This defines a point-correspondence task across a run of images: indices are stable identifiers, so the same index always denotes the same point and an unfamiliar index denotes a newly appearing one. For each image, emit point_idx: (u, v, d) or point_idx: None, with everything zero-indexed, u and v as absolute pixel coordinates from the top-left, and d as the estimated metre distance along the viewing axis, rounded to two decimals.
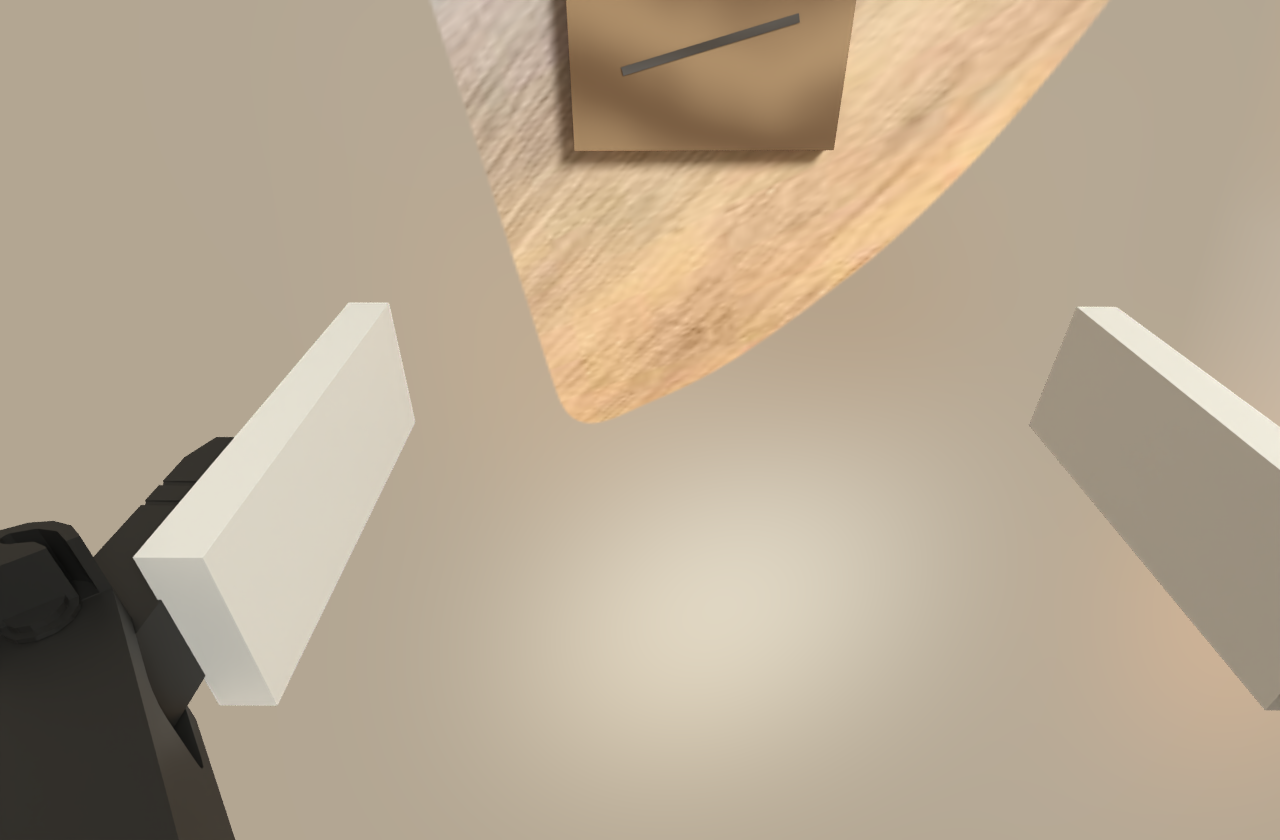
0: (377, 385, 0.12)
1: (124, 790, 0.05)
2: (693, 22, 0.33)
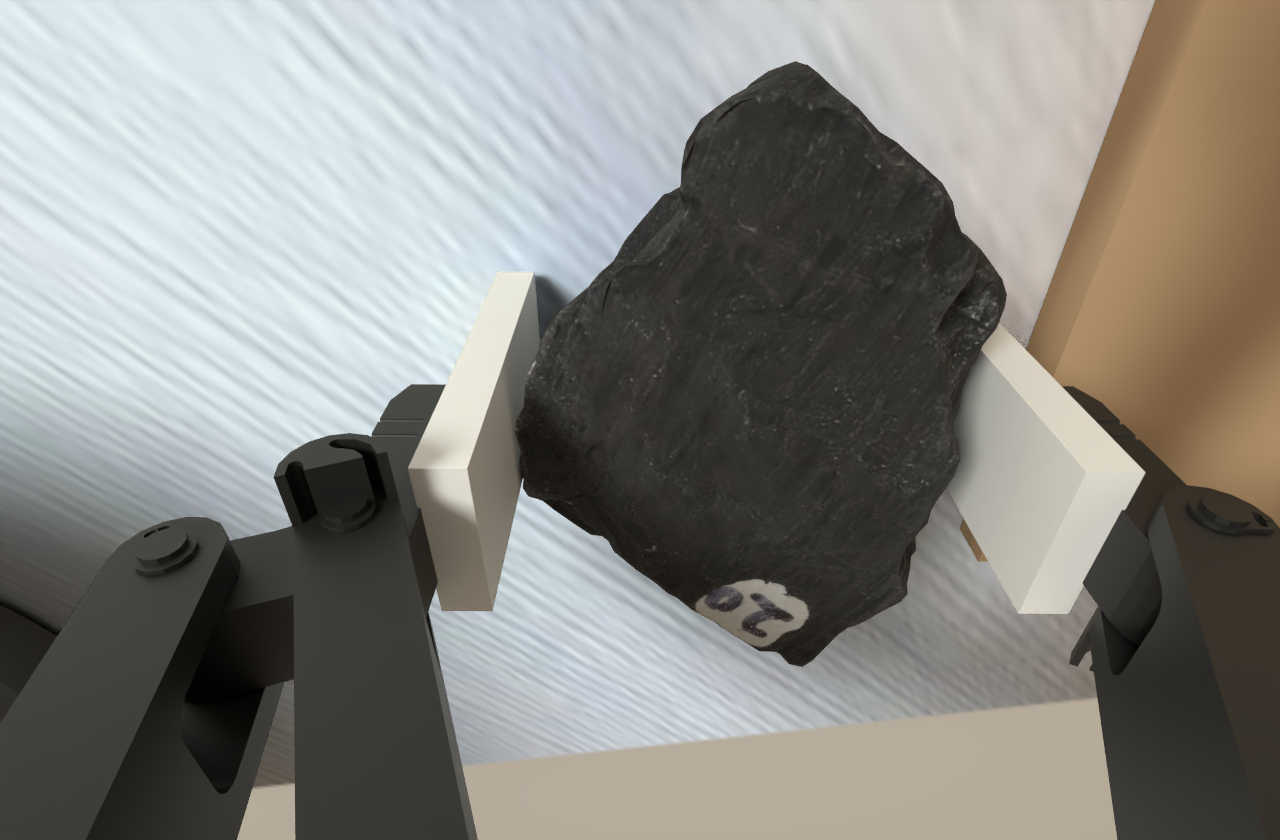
0: (529, 345, 0.13)
1: (405, 674, 0.06)
2: None
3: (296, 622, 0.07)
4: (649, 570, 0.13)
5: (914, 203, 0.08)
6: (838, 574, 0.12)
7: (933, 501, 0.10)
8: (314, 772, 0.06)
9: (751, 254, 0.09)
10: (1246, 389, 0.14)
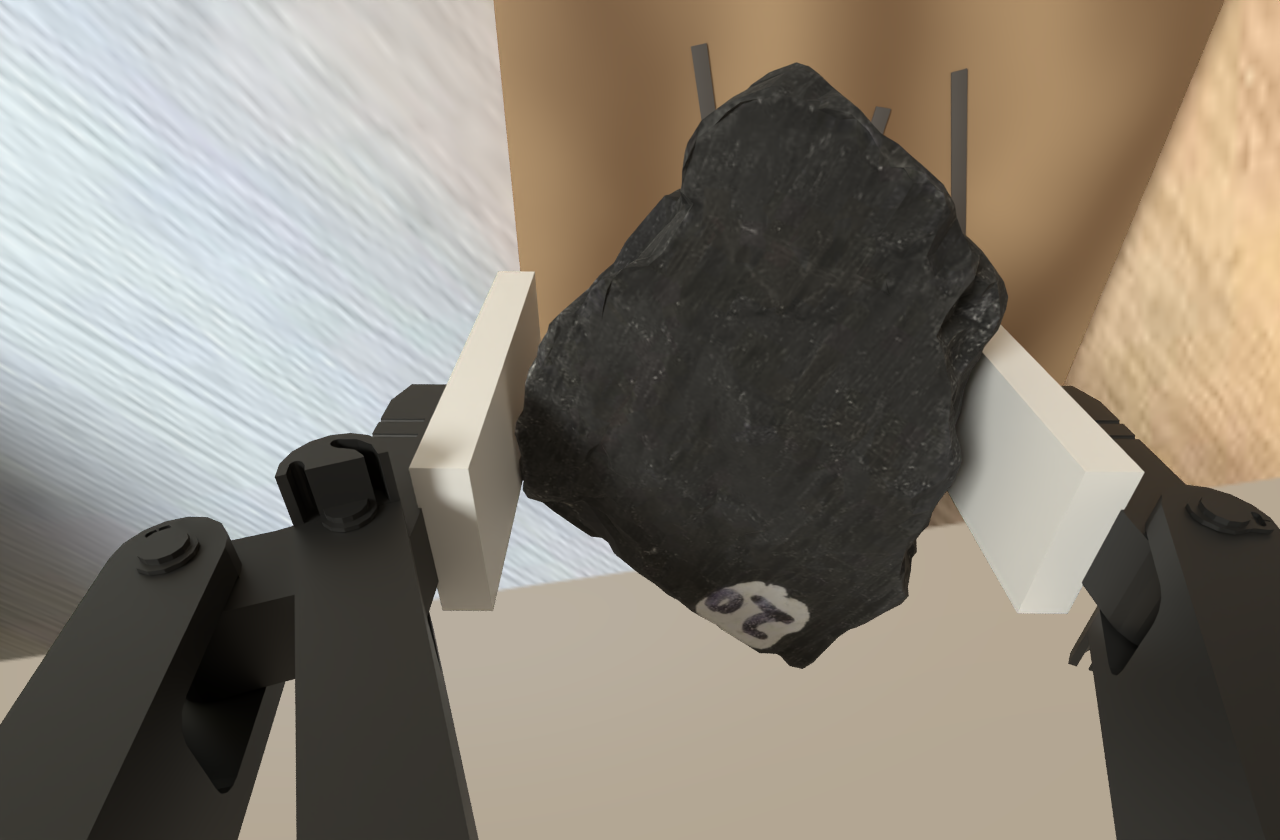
0: (530, 345, 0.13)
1: (405, 673, 0.06)
2: None
3: (297, 622, 0.07)
4: (649, 572, 0.13)
5: (915, 204, 0.08)
6: (838, 576, 0.12)
7: (934, 503, 0.10)
8: (315, 772, 0.06)
9: (750, 256, 0.09)
10: None
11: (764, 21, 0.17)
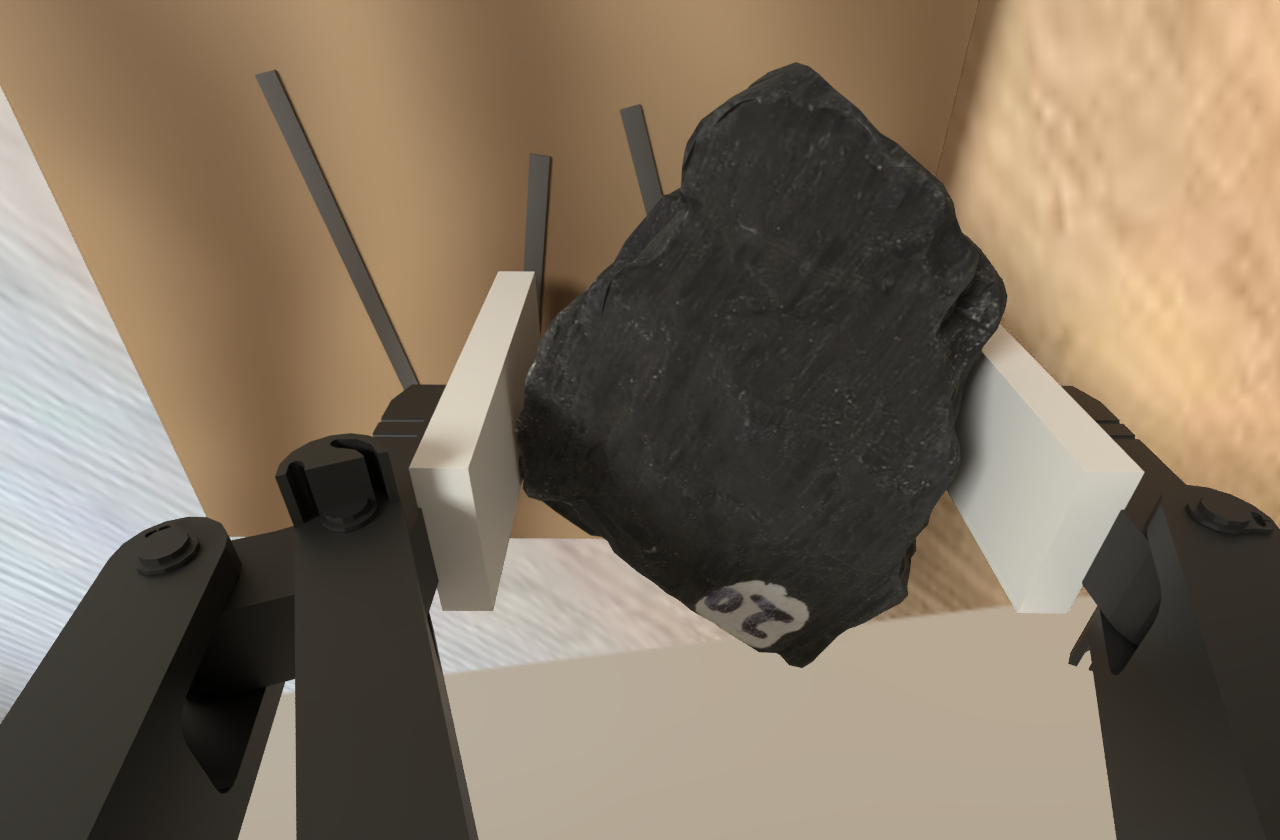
0: (530, 344, 0.13)
1: (406, 673, 0.06)
2: None
3: (298, 622, 0.07)
4: (649, 571, 0.13)
5: (914, 204, 0.08)
6: (838, 575, 0.12)
7: (933, 502, 0.10)
8: (315, 772, 0.06)
9: (750, 256, 0.09)
10: (316, 381, 0.16)
11: (346, 40, 0.12)
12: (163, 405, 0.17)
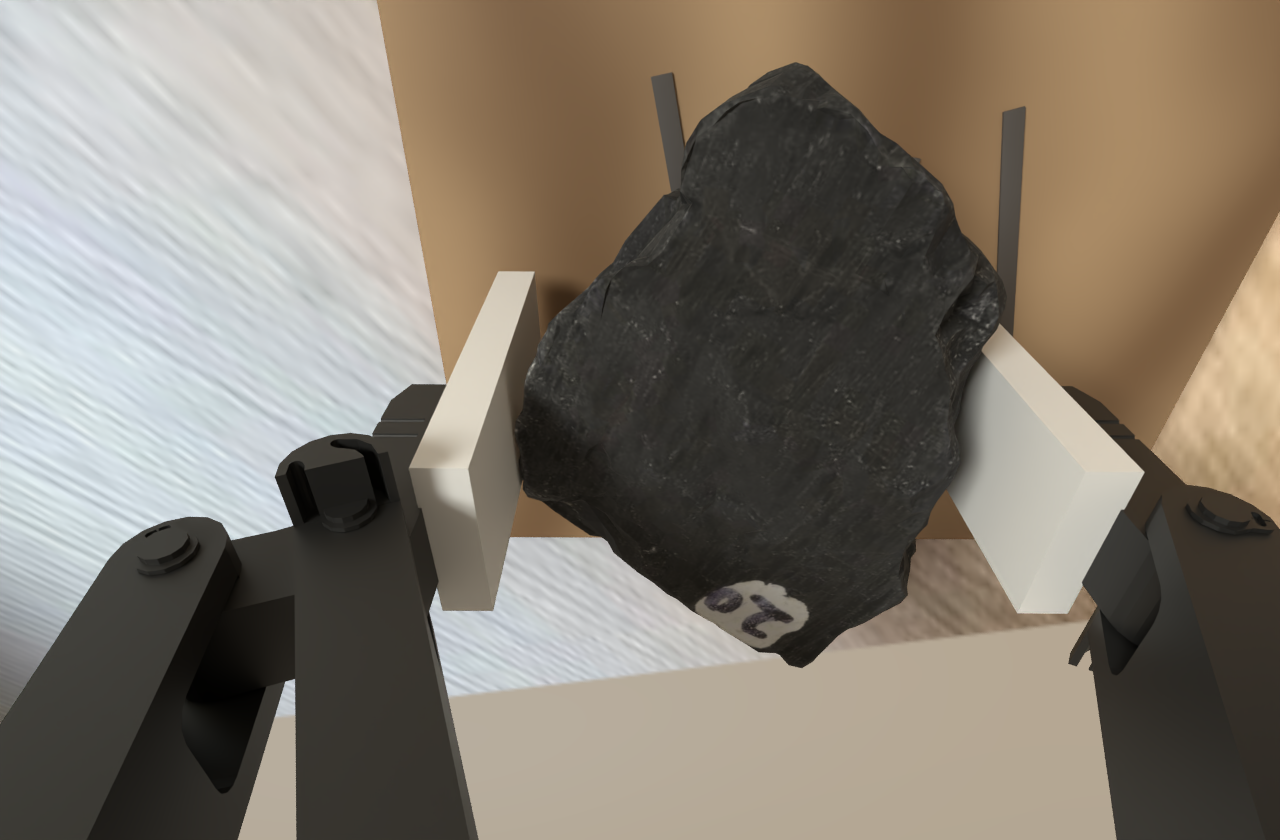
0: (530, 345, 0.13)
1: (406, 673, 0.06)
2: None
3: (298, 622, 0.07)
4: (649, 571, 0.13)
5: (914, 203, 0.08)
6: (837, 575, 0.12)
7: (933, 502, 0.10)
8: (315, 772, 0.06)
9: (750, 256, 0.09)
10: None
11: (751, 43, 0.12)
12: None
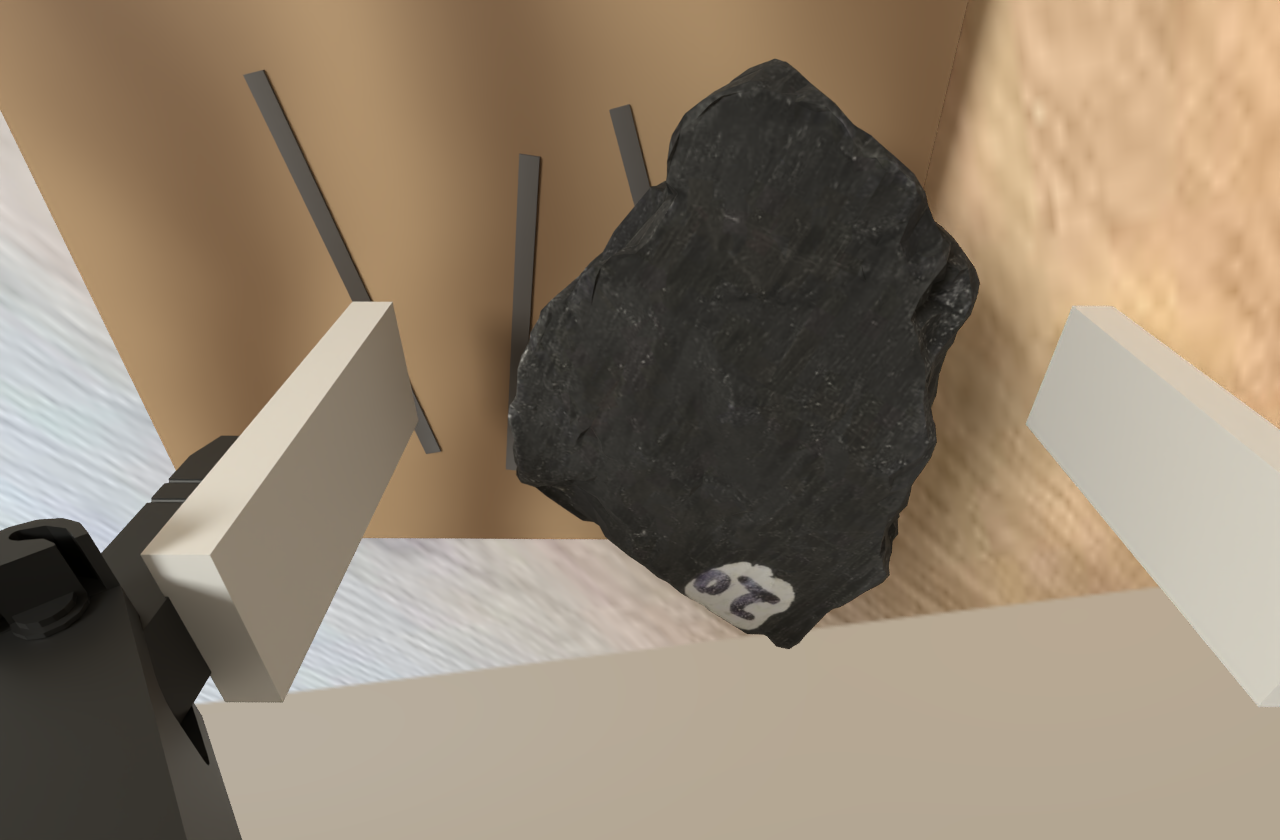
0: (381, 384, 0.12)
1: (131, 785, 0.05)
2: None
3: None
4: (639, 554, 0.14)
5: (888, 192, 0.09)
6: (821, 555, 0.12)
7: (911, 481, 0.11)
8: None
9: (733, 244, 0.10)
10: None
11: (335, 40, 0.12)
12: (154, 406, 0.17)
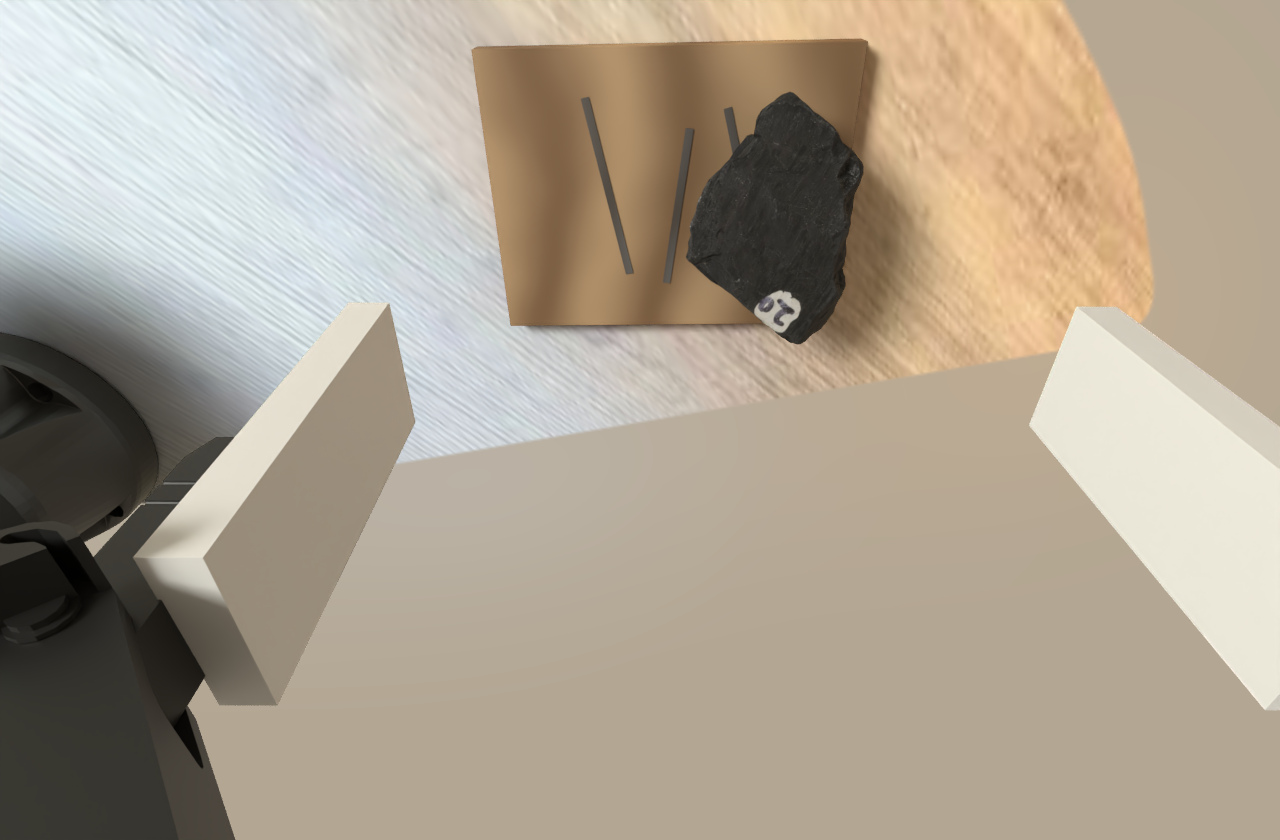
0: (377, 385, 0.12)
1: (122, 790, 0.05)
2: None
3: None
4: (736, 292, 0.33)
5: (825, 133, 0.28)
6: (810, 281, 0.32)
7: (840, 240, 0.30)
8: None
9: (776, 152, 0.29)
10: (577, 236, 0.36)
11: (618, 84, 0.32)
12: (504, 251, 0.36)
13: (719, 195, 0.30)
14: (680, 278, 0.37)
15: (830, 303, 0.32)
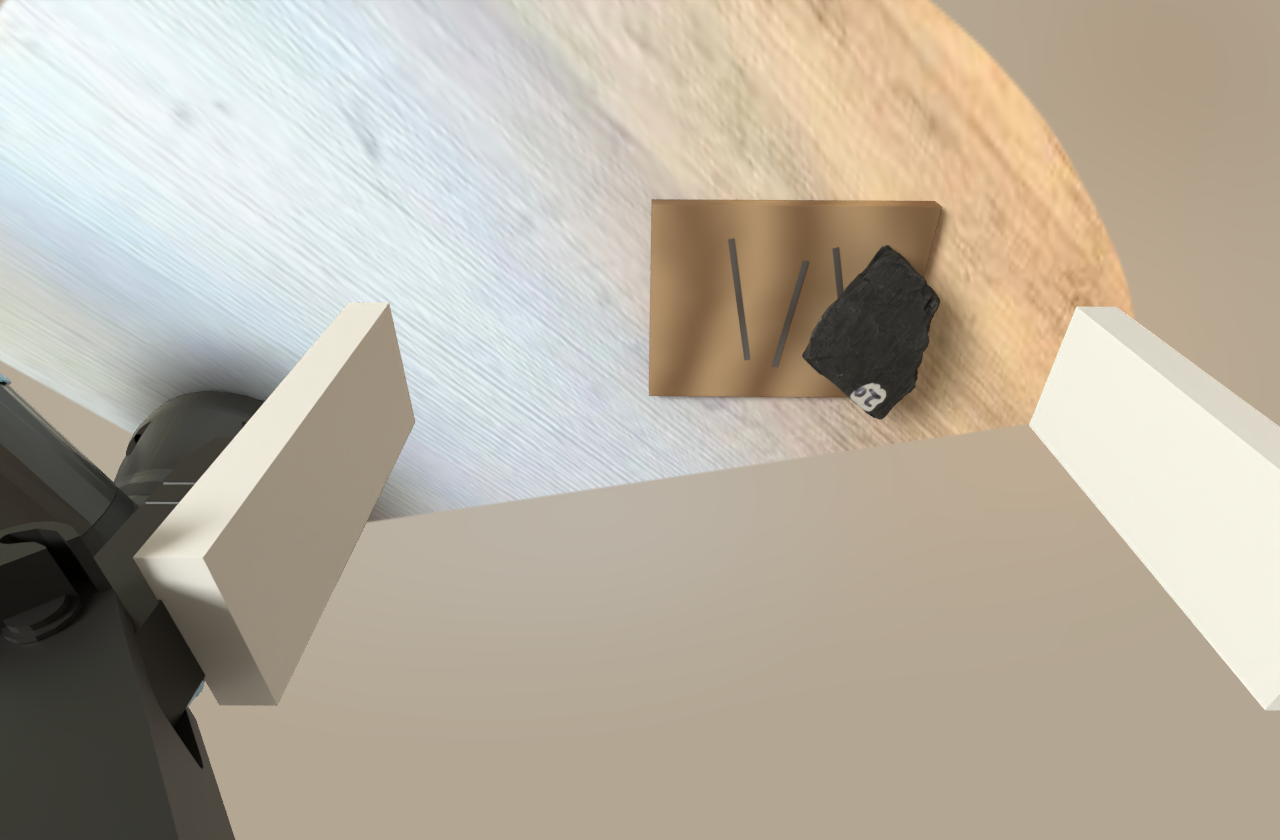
0: (377, 385, 0.12)
1: (122, 790, 0.05)
2: None
3: None
4: (838, 383, 0.44)
5: (917, 281, 0.39)
6: (896, 378, 0.43)
7: (922, 352, 0.41)
8: None
9: (880, 292, 0.40)
10: (711, 333, 0.47)
11: (757, 230, 0.43)
12: (653, 342, 0.47)
13: (835, 318, 0.41)
14: (785, 363, 0.48)
15: (908, 392, 0.44)
